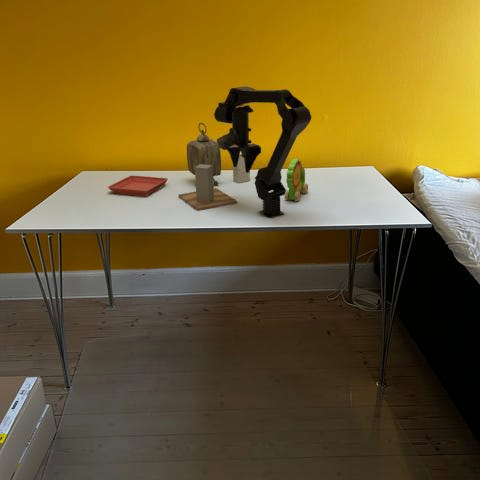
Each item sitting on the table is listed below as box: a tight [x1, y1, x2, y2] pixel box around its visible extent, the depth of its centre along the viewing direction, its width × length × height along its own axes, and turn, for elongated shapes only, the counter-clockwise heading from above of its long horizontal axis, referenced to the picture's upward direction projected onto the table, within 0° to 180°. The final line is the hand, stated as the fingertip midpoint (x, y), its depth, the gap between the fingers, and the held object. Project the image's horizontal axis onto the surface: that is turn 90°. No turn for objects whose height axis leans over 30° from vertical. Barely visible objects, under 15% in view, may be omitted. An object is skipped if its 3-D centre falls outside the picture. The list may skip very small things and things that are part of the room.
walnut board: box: [178, 187, 238, 212], centre depth 179 cm, size 18×16×1 cm
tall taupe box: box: [194, 164, 215, 203], centre depth 173 cm, size 4×5×13 cm
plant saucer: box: [107, 175, 168, 197], centre depth 193 cm, size 18×18×3 cm
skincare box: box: [232, 151, 251, 184], centre depth 199 cm, size 6×4×12 cm
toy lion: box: [284, 158, 309, 202], centre depth 177 cm, size 16×5×15 cm, turn 155°
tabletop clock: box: [186, 122, 222, 186], centre depth 194 cm, size 14×9×25 cm, turn 30°
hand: (241, 169), depth 169 cm, fingers open, 9 cm apart
